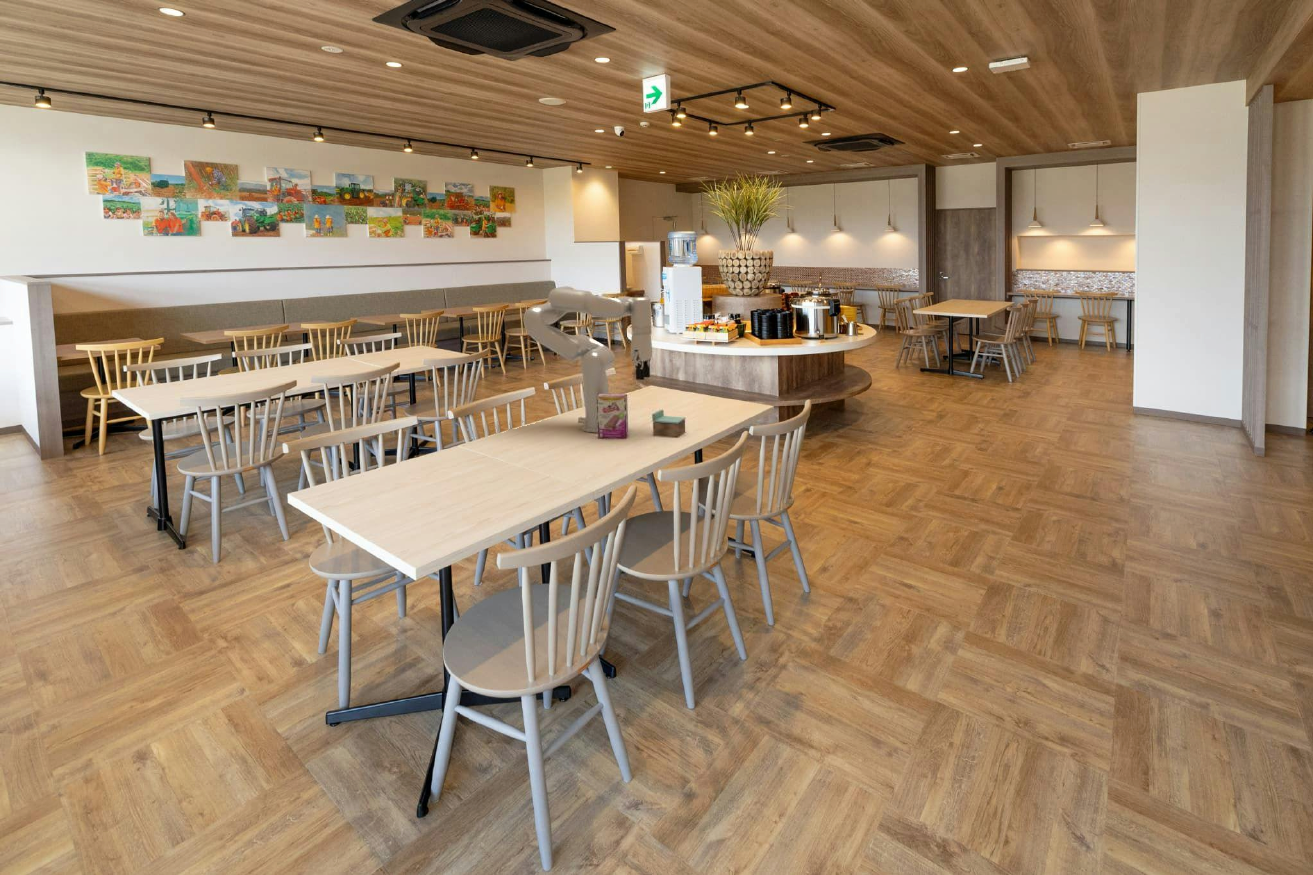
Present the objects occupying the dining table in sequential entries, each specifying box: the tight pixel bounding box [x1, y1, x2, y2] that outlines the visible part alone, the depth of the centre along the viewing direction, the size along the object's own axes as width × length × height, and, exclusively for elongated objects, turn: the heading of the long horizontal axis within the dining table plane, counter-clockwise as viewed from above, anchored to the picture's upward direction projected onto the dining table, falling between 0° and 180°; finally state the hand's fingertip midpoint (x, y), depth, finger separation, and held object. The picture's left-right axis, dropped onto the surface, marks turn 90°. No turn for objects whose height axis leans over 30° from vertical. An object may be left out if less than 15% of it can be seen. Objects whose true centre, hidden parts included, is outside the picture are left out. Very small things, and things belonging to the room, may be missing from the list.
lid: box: [651, 409, 687, 424], centre depth 281 cm, size 10×8×3 cm
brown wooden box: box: [652, 419, 686, 438], centre depth 282 cm, size 10×8×5 cm
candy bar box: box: [597, 393, 629, 439], centre depth 278 cm, size 11×5×16 cm, turn 84°
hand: (642, 377), depth 281 cm, fingers open, 4 cm apart
